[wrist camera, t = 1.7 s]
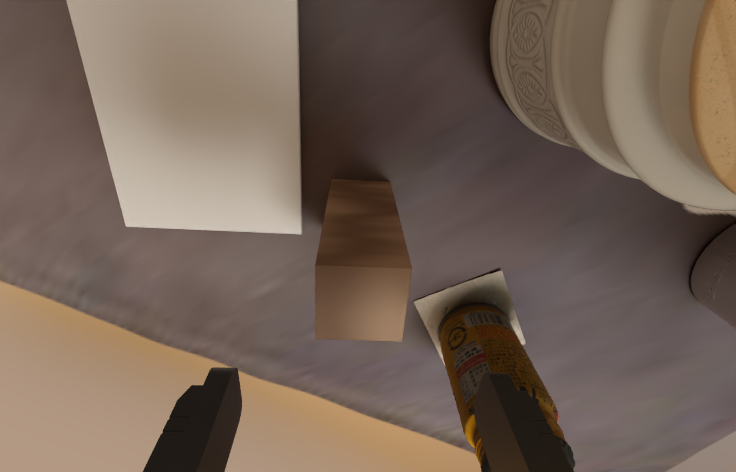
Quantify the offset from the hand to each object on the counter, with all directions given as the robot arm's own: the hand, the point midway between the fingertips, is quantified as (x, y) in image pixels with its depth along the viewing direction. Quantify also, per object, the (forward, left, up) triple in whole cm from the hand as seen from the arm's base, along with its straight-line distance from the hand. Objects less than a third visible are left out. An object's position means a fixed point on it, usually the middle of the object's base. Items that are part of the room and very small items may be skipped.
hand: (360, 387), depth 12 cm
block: (0, 0, -16) cm, 16 cm away
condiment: (-10, +10, -16) cm, 21 cm away
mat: (+10, -6, -15) cm, 19 cm away
